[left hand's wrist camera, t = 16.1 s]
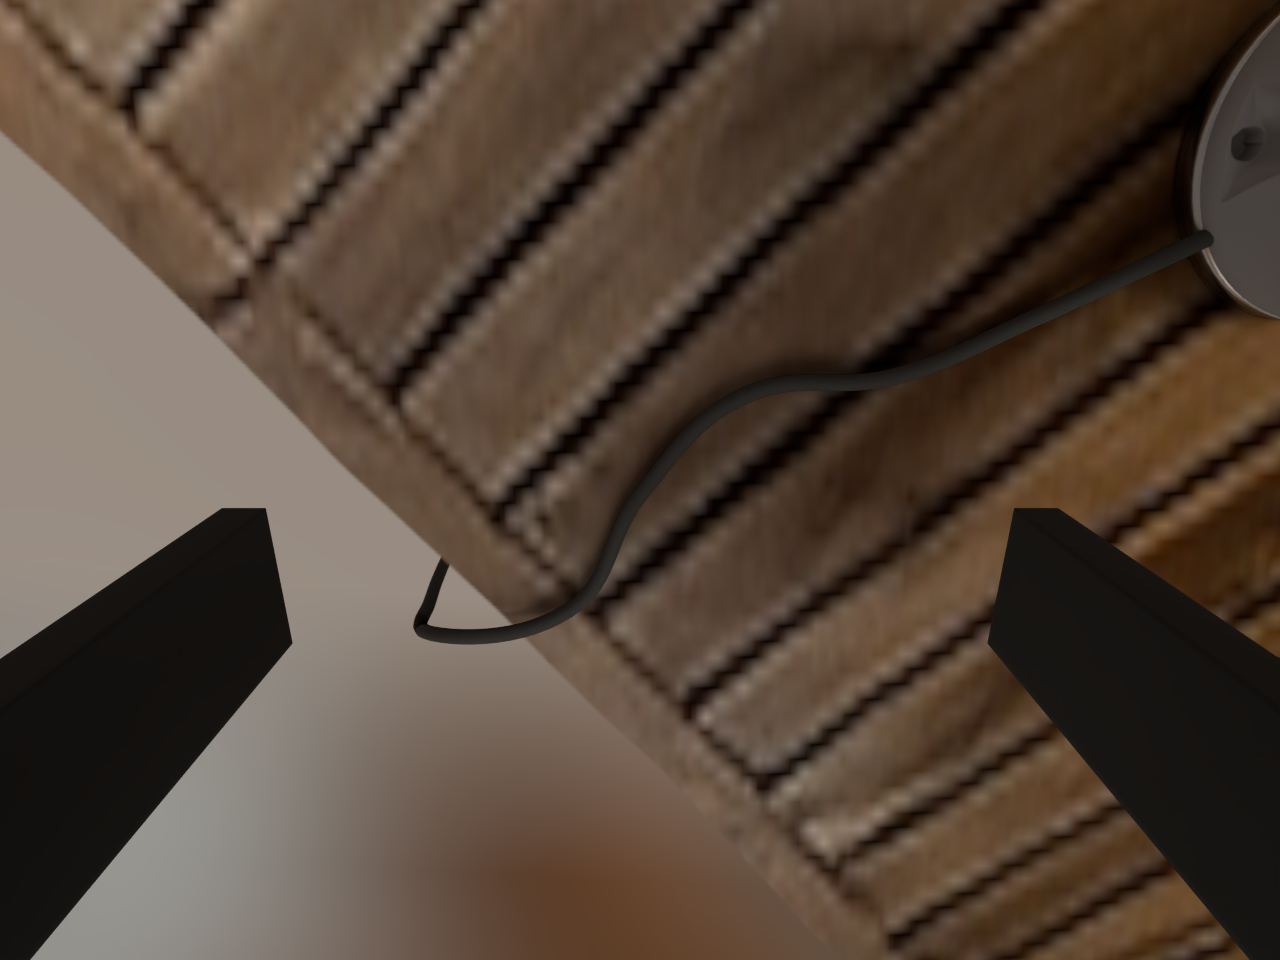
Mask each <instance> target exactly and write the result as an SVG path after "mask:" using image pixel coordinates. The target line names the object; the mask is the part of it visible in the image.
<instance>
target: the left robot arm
mask: <svg viewBox="0 0 1280 960" xmlns="http://www.w3.org/2000/svg"><path fill="white" fill-rule="evenodd" d="M1175 207H1176V218H1177V224H1178V229H1179V234H1180V237H1181V240H1180V241H1178V242H1176V243H1174V244H1171V245H1169V246H1167V247H1165V248H1163V249H1161V250H1159V251H1157V252H1155V253H1152V254H1150V255H1148V256H1146V257H1144V258H1142V259H1140V260H1138V261H1136V262H1133V263H1131V264H1129V265H1127V266H1125V267H1123V268H1121V269H1118V270H1116V271H1114V272H1112V273H1110V274H1108V275H1106V276H1104V277H1102V278H1099V279H1097V280H1095V281H1093V282H1091V283H1089V284H1087V285H1085V286H1083V287H1080V288H1078V289H1076V290H1074V291H1072V292H1070V293H1068V294H1066V295H1063V296H1061V297H1059V298H1057V299H1055V300H1053V301H1050V302H1048V303H1046V304H1044V305H1041V306H1039V307H1037V308H1035V309H1033V310H1030V311H1028V312H1026V313H1024V314H1021V315H1019V316H1017V317H1015V318H1013V319H1011V320H1009V321H1006V322H1004V323H1002V324H1000V325H998V326H996V327H994V328H992V329H990V330H988V331H986V332H984V333H981V334H979V335H977V336H975V337H973V338H971V339H969V340H967V341H965V342H963V343H960V344H958V345H956V346H954V347H951V348H949V349H947V350H944V351H942V352H940V353H937V354H935V355H932V356H930V357H927V358H924V359H921V360H918V361H915V362H912V363H909V364H906V365H903V366H899V367H896V368H892V369H888V370H883V371H879V372H872V373H864V374H843V375H838V374H801V375H787V376H779V377H774V378H769V379H765V380H762V381H759V382H755V383H753V384H750V385H748V386H745V387H743V388H741V389H739V390H737V391H735V392H733V393H731V394H729V395H727V396H725V397H724V398H722V399H721V400H719V401H717V402H716V403H714V404H713V405H711V406H710V407H709V408H707V409H706V410H704V411H703V412H702V413H701V414H699V415H698V416H697V417H696V418H695V419H694V420H693V421H691V422H690V423H689V424H688V425H687V426H686V427H685V428H684V429H683V430H682V431H681V432H680V433H679V435H678V436H677V437H676V438H675V439H674V440H673V441H672V443H671V444H670V445H669V446H668V447H667V449H666V450H665V451H664V452H663V454H662V455H661V456H660V457H659V459H658V460H657V461H656V463H655V464H654V465H653V466H652V468H651V469H650V470H649V472H648V473H647V474H646V475H645V477H644V478H643V479H642V481H641V482H640V483H639V484H638V486H637V487H636V488H635V489H634V491H633V492H632V494H631V495H630V496H629V498H628V499H627V501H626V502H625V504H624V506H623V507H622V509H621V511H620V513H619V515H618V517H617V519H616V521H615V523H614V525H613V528H612V530H611V532H610V535H609V537H608V540H607V543H606V545H605V548H604V550H603V553H602V556H601V558H600V560H599V563H598V565H597V567H596V569H595V571H594V573H593V575H592V576H591V578H590V580H589V581H588V583H587V584H586V585H585V586H584V588H583V589H582V590H581V591H580V592H579V593H578V594H577V595H576V596H575V597H574V598H572V599H571V600H570V601H568V602H567V603H566V604H564V605H562V606H561V607H559V608H557V609H556V610H554V611H552V612H549V613H547V614H545V615H543V616H540V617H538V618H535V619H532V620H529V621H526V622H522V623H519V624H514V625H510V626H504V627H497V628H488V629H449V628H440V627H434V626H430V625H428V621H429V619H430V616H431V615H432V612H433V610H434V608H435V605H436V602H437V599H438V595H439V592H440V589H441V586H442V583H443V581H444V578H445V576H446V573H447V570H448V568H449V566H450V565H449V564H448V563H447V562H446V561H445V560H444V559H443V558H442V557H441V558H440V560H439V562H438V564H437V567H436V569H435V571H434V574H433V576H432V578H431V581H430V583H429V586H428V589H427V592H426V595H425V598H424V600H423V603H422V605H421V607H420V608H419V610H418V612H417V614H416V616H415V619H414V623H413V629H414V631H415V633H416V634H417V635H418V636H419V637H421V638H423V639H426V640H430V641H434V642H440V643H448V644H489V643H498V642H505V641H511V640H515V639H519V638H524V637H527V636H531V635H534V634H537V633H540V632H542V631H545V630H548V629H550V628H552V627H554V626H556V625H559V624H561V623H562V622H564V621H566V620H568V619H569V618H571V617H573V616H574V615H575V614H577V613H578V612H580V611H581V610H582V609H584V608H585V607H586V606H587V605H588V604H589V603H590V602H591V601H592V600H593V599H594V597H595V596H596V595H597V594H598V592H599V591H600V590H601V588H602V586H603V585H604V583H605V582H606V580H607V578H608V576H609V574H610V572H611V569H612V567H613V565H614V562H615V560H616V557H617V555H618V552H619V550H620V547H621V544H622V542H623V539H624V537H625V535H626V532H627V530H628V528H629V526H630V524H631V522H632V520H633V518H634V517H635V515H636V513H637V512H638V510H639V509H640V507H641V506H642V505H643V503H644V502H645V500H646V499H647V498H648V497H649V495H650V494H651V493H652V492H653V490H654V489H655V488H656V487H657V485H658V484H659V483H660V481H661V480H662V479H663V478H664V476H665V475H666V474H667V473H668V471H669V470H670V469H671V467H672V466H673V465H674V464H675V462H676V461H677V460H678V459H679V458H680V456H681V455H682V454H683V453H684V452H685V451H686V449H687V448H688V447H689V446H690V445H691V444H692V443H693V442H694V441H695V440H696V439H697V438H698V437H699V436H700V435H701V434H702V433H703V432H704V431H705V430H706V429H708V428H709V427H710V426H711V425H713V424H714V423H715V422H717V421H718V420H719V419H721V418H722V417H724V416H725V415H727V414H729V413H730V412H732V411H734V410H735V409H737V408H739V407H741V406H743V405H745V404H747V403H749V402H752V401H754V400H757V399H759V398H762V397H766V396H769V395H773V394H778V393H783V392H792V391H857V390H869V389H876V388H883V387H887V386H892V385H896V384H900V383H903V382H907V381H910V380H914V379H917V378H920V377H923V376H926V375H929V374H931V373H934V372H937V371H939V370H942V369H944V368H947V367H949V366H952V365H954V364H956V363H959V362H961V361H963V360H966V359H968V358H970V357H972V356H974V355H976V354H979V353H981V352H983V351H985V350H987V349H989V348H991V347H993V346H995V345H997V344H999V343H1002V342H1004V341H1006V340H1008V339H1010V338H1012V337H1014V336H1016V335H1019V334H1021V333H1023V332H1025V331H1027V330H1030V329H1032V328H1034V327H1036V326H1038V325H1041V324H1043V323H1045V322H1048V321H1050V320H1052V319H1054V318H1057V317H1059V316H1061V315H1063V314H1065V313H1068V312H1070V311H1072V310H1074V309H1076V308H1079V307H1081V306H1083V305H1085V304H1087V303H1089V302H1092V301H1094V300H1096V299H1098V298H1100V297H1102V296H1104V295H1107V294H1109V293H1111V292H1113V291H1115V290H1117V289H1120V288H1122V287H1124V286H1126V285H1128V284H1130V283H1132V282H1135V281H1137V280H1139V279H1141V278H1143V277H1145V276H1148V275H1150V274H1152V273H1154V272H1156V271H1158V270H1161V269H1163V268H1165V267H1167V266H1169V265H1171V264H1173V263H1176V262H1178V261H1180V260H1182V259H1184V258H1186V257H1188V259H1189V261H1190V263H1191V264H1192V266H1193V268H1194V269H1195V271H1196V273H1197V274H1198V275H1199V277H1200V278H1201V279H1202V280H1203V282H1204V283H1205V284H1206V285H1207V286H1208V287H1209V288H1210V289H1211V290H1212V291H1213V292H1214V293H1215V294H1216V295H1218V296H1219V297H1220V298H1222V299H1223V300H1224V301H1226V302H1227V303H1229V304H1231V305H1233V306H1234V307H1236V308H1238V309H1240V310H1243V311H1245V312H1247V313H1250V314H1253V315H1257V316H1260V317H1264V318H1270V319H1276V320H1280V2H1279V3H1278V4H1276V5H1275V6H1274V7H1273V8H1272V9H1270V10H1269V11H1268V12H1267V13H1266V14H1265V15H1264V16H1263V17H1261V18H1260V19H1259V20H1258V21H1257V22H1256V23H1255V24H1254V25H1253V26H1252V27H1251V28H1250V29H1249V30H1248V31H1247V33H1246V34H1245V35H1244V36H1243V37H1242V38H1241V39H1240V40H1239V41H1238V42H1237V44H1236V45H1235V46H1234V47H1233V49H1232V50H1231V51H1230V53H1229V54H1228V55H1227V56H1226V58H1225V59H1224V60H1223V62H1222V63H1221V65H1220V66H1219V68H1218V69H1217V71H1216V72H1215V74H1214V75H1213V77H1212V78H1211V80H1210V82H1209V84H1208V85H1207V87H1206V89H1205V91H1204V92H1203V94H1202V96H1201V98H1200V100H1199V102H1198V104H1197V107H1196V109H1195V111H1194V113H1193V116H1192V118H1191V121H1190V123H1189V126H1188V129H1187V131H1186V135H1185V138H1184V141H1183V145H1182V148H1181V152H1180V157H1179V162H1178V167H1177V176H1176V184H1175ZM291 644H292V638H291V633H290V628H289V623H288V618H287V613H286V608H285V603H284V598H283V593H282V588H281V583H280V578H279V573H278V568H277V563H276V558H275V553H274V548H273V542H272V537H271V532H270V527H269V522H268V517H267V512H266V508H222V509H220V510H219V511H217V512H216V513H214V514H213V515H211V516H210V517H208V518H207V519H205V520H204V521H202V522H201V523H200V524H198V525H197V526H195V527H194V528H192V529H191V530H189V531H188V532H186V533H185V534H183V535H182V536H180V537H179V538H178V539H176V540H175V541H173V542H172V543H170V544H169V545H167V546H166V547H164V548H163V549H161V550H160V551H158V552H157V553H155V554H154V555H153V556H151V557H149V558H148V559H147V560H145V561H144V562H142V563H141V564H139V565H138V566H136V567H135V568H133V569H132V570H130V571H129V572H127V573H126V574H124V575H123V576H122V577H120V578H119V579H117V580H116V581H114V582H113V583H111V584H110V585H108V586H107V587H105V588H104V589H102V590H101V591H99V592H98V593H97V594H95V595H94V596H92V597H91V598H89V599H88V600H86V601H85V602H83V603H82V604H80V605H79V606H77V607H76V608H74V609H73V610H72V611H70V612H69V613H67V614H66V615H64V616H63V617H61V618H60V619H58V620H57V621H55V622H54V623H52V624H51V625H49V626H48V627H46V628H45V629H44V630H42V631H41V632H39V633H38V634H36V635H35V636H33V637H32V638H30V639H29V640H27V641H26V642H24V643H23V644H21V645H20V646H19V647H17V648H16V649H14V650H13V651H11V652H10V653H8V654H7V655H5V656H4V657H2V658H1V659H0V960H30V959H31V958H32V957H33V956H34V954H35V953H36V952H37V951H38V950H39V948H40V947H41V946H42V945H43V944H44V942H45V941H46V940H47V939H48V938H49V936H50V935H51V934H52V933H53V931H54V930H55V929H56V928H57V927H58V926H59V924H60V923H61V922H62V921H63V920H64V918H65V917H66V916H67V915H68V913H69V912H70V911H71V910H72V909H73V907H74V906H75V905H76V904H77V903H78V901H79V900H80V899H81V898H82V897H83V895H84V894H85V893H86V892H87V890H88V889H89V888H90V887H91V886H92V884H93V883H94V882H95V881H96V880H97V879H98V877H99V876H100V875H101V874H102V872H103V871H104V870H105V869H106V868H107V866H108V865H109V864H110V863H111V862H112V860H113V859H114V858H115V857H116V856H117V854H118V853H119V852H120V851H121V850H122V848H123V847H124V846H125V845H126V843H127V842H128V841H129V840H130V839H131V838H132V836H133V835H134V834H135V833H136V831H137V830H138V829H139V828H140V827H141V825H142V824H143V823H144V822H145V821H146V819H147V818H148V817H149V816H150V815H151V813H152V812H153V811H154V810H155V809H156V807H157V806H158V805H159V804H160V802H161V801H162V800H163V799H164V798H165V796H166V795H167V794H168V793H169V792H170V790H171V789H172V788H173V787H174V786H175V784H176V783H177V782H178V781H179V780H180V778H181V777H182V776H183V775H184V774H185V772H186V771H187V770H188V769H189V768H190V766H191V765H192V764H193V763H194V762H195V760H196V759H197V758H198V757H199V755H200V754H201V753H202V752H203V751H204V749H205V748H206V747H207V746H208V745H209V743H210V742H211V741H212V740H213V739H214V737H215V736H216V735H217V734H218V733H219V731H220V730H221V729H222V728H223V727H224V725H225V724H226V723H227V722H228V721H229V719H230V718H231V717H232V716H233V714H234V713H235V712H236V711H237V710H238V708H239V707H240V706H241V705H242V704H243V702H244V701H245V700H246V699H247V698H248V696H249V695H250V694H251V693H252V692H253V690H254V689H255V688H256V687H257V686H258V684H259V683H260V682H261V681H262V679H263V678H264V677H265V676H266V675H267V673H268V672H269V671H270V670H271V669H272V667H273V666H274V665H275V664H276V663H277V661H278V660H279V659H280V658H281V657H282V655H283V654H284V653H285V652H286V651H287V649H288V648H289V647H290V646H291ZM988 645H989V646H990V647H991V648H992V649H993V651H994V652H995V653H996V654H997V655H998V657H999V658H1000V659H1001V660H1002V661H1003V663H1004V664H1005V665H1006V666H1007V667H1008V669H1009V670H1010V671H1011V672H1012V673H1013V675H1014V676H1015V677H1016V678H1017V680H1018V681H1019V682H1020V683H1021V684H1022V686H1023V687H1024V688H1025V689H1026V690H1027V692H1028V693H1029V694H1030V695H1031V696H1032V698H1033V699H1034V700H1035V701H1036V702H1037V704H1038V705H1039V706H1040V707H1041V708H1042V710H1043V711H1044V712H1045V713H1046V714H1047V716H1048V717H1049V718H1050V719H1051V721H1052V722H1053V723H1054V724H1055V725H1056V727H1057V728H1058V729H1059V730H1060V731H1061V733H1062V734H1063V735H1064V736H1065V737H1066V739H1067V740H1068V741H1069V742H1070V743H1071V745H1072V746H1073V747H1074V748H1075V749H1076V751H1077V752H1078V753H1079V754H1080V755H1081V757H1082V758H1083V759H1084V760H1085V762H1086V763H1087V764H1088V765H1089V766H1090V768H1091V769H1092V770H1093V771H1094V772H1095V774H1096V775H1097V776H1098V777H1099V778H1100V780H1101V781H1102V782H1103V783H1104V784H1105V786H1106V787H1107V788H1108V789H1109V790H1110V792H1111V793H1112V794H1113V795H1114V796H1115V798H1116V799H1117V800H1118V801H1119V803H1120V804H1121V805H1122V806H1123V807H1124V809H1125V810H1126V811H1127V812H1128V813H1129V815H1130V816H1131V817H1132V818H1133V819H1134V821H1135V822H1136V823H1137V824H1138V825H1139V827H1140V828H1141V829H1142V830H1143V831H1144V833H1145V834H1146V835H1147V836H1148V838H1149V839H1150V840H1151V841H1152V842H1153V844H1154V845H1155V846H1156V847H1157V848H1158V850H1159V851H1160V852H1161V853H1162V854H1163V856H1164V857H1165V858H1166V859H1167V860H1168V862H1169V863H1170V864H1171V865H1172V866H1173V868H1174V869H1175V870H1176V871H1177V872H1178V874H1179V875H1180V876H1181V877H1182V879H1183V880H1184V881H1185V882H1186V883H1187V885H1188V886H1189V887H1190V888H1191V889H1192V891H1193V892H1194V893H1195V894H1196V895H1197V897H1198V898H1199V899H1200V900H1201V901H1202V903H1203V904H1204V905H1205V906H1206V907H1207V909H1208V910H1209V911H1210V912H1211V913H1212V915H1213V916H1214V917H1215V918H1216V920H1217V921H1218V922H1219V923H1220V924H1221V926H1222V927H1223V928H1224V929H1225V930H1226V932H1227V933H1228V934H1229V935H1230V936H1231V938H1232V939H1233V940H1234V941H1235V942H1236V944H1237V945H1238V946H1239V947H1240V948H1241V950H1242V951H1243V952H1244V953H1245V954H1246V956H1247V957H1248V958H1249V959H1250V960H1280V658H1279V657H1277V656H1275V655H1273V654H1272V653H1270V652H1269V651H1267V650H1266V649H1264V648H1263V647H1261V646H1260V645H1259V644H1257V643H1256V642H1254V641H1253V640H1251V639H1250V638H1248V637H1247V636H1245V635H1244V634H1242V633H1241V632H1239V631H1238V630H1236V629H1235V628H1234V627H1232V626H1231V625H1229V624H1228V623H1226V622H1225V621H1223V620H1222V619H1220V618H1219V617H1217V616H1216V615H1214V614H1213V613H1211V612H1210V611H1209V610H1207V609H1206V608H1204V607H1203V606H1201V605H1200V604H1198V603H1197V602H1195V601H1194V600H1192V599H1191V598H1189V597H1188V596H1186V595H1185V594H1183V593H1182V592H1181V591H1179V590H1178V589H1176V588H1175V587H1173V586H1172V585H1170V584H1169V583H1167V582H1166V581H1164V580H1163V579H1161V578H1160V577H1158V576H1157V575H1156V574H1154V573H1153V572H1151V571H1150V570H1148V569H1147V568H1145V567H1144V566H1142V565H1141V564H1139V563H1138V562H1136V561H1135V560H1133V559H1132V558H1131V557H1129V556H1128V555H1126V554H1125V553H1123V552H1122V551H1120V550H1119V549H1117V548H1116V547H1114V546H1113V545H1111V544H1110V543H1108V542H1107V541H1105V540H1104V539H1103V538H1101V537H1100V536H1098V535H1097V534H1095V533H1094V532H1092V531H1091V530H1089V529H1088V528H1086V527H1085V526H1083V525H1082V524H1080V523H1079V522H1078V521H1076V520H1075V519H1073V518H1072V517H1070V516H1069V515H1067V514H1066V513H1064V512H1063V511H1061V510H1060V509H1058V508H1014V512H1013V517H1012V522H1011V527H1010V532H1009V537H1008V542H1007V548H1006V553H1005V558H1004V563H1003V568H1002V573H1001V578H1000V583H999V588H998V593H997V598H996V603H995V608H994V613H993V618H992V623H991V628H990V633H989V638H988Z"/></svg>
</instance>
